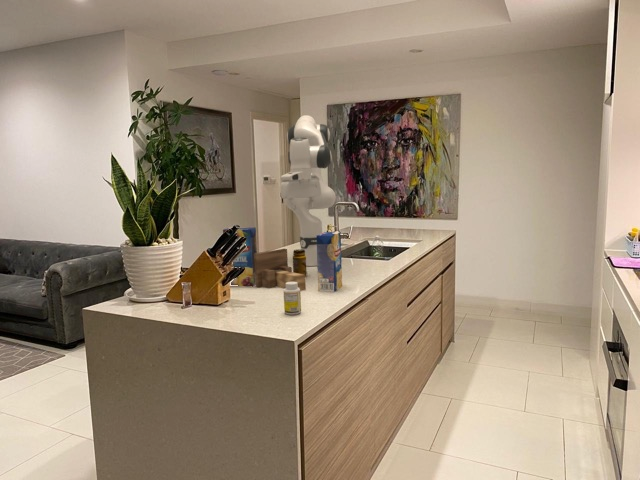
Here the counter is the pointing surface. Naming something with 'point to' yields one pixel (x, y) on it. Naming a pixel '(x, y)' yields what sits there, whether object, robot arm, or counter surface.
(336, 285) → the beverage box
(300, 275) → the rail
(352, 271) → the counter surface
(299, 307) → the supplement bottle
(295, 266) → the condiment
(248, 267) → the juice carton
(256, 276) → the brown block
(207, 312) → the counter surface
